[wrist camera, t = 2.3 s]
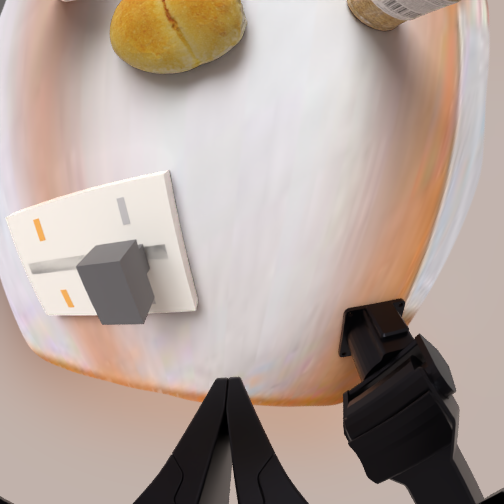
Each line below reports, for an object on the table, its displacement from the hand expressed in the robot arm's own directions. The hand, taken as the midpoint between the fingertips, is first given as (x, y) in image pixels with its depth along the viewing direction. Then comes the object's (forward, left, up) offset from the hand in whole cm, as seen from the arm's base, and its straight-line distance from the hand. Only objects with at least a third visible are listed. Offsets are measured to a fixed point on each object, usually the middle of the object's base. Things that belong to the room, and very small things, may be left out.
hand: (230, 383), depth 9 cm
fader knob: (0, +8, -11) cm, 13 cm away
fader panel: (0, +13, -13) cm, 18 cm away
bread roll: (+17, +2, -13) cm, 21 cm away
